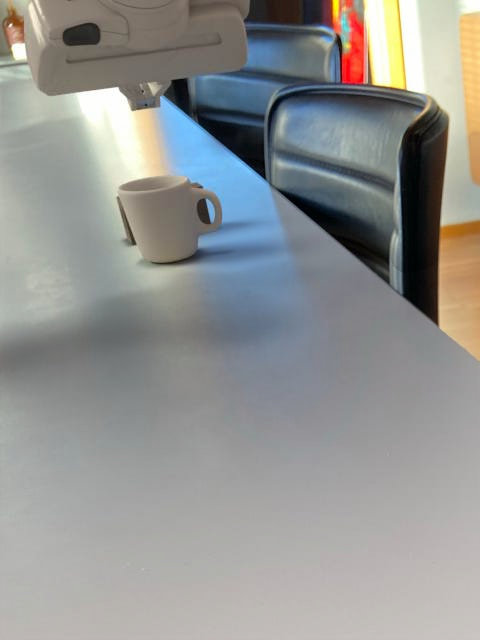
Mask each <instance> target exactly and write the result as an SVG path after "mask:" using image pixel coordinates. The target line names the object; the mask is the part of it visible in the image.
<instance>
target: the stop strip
mask: <svg viewBox="0 0 480 640" xmlns="http://www.w3.org/2000/svg"><path fill="white" fill-rule="evenodd" d="M191 186H192V187H193V188H202V189H204V186H203V185H201V184H200V183H199V182H197V181H196V182H191ZM115 198H116V202H117V205H118V209H119V213H120V217H121V220H122V224H123V228H124V232H125V235H126V240H127V241H128V242H129V243H130V244H131V245H137V244H136V241H135V238H134V236H133V233H132V230H131V228H130V225H129V222H128V220H127V217H126V214H125V211H124V209H123V206H122V203H121V201H120V198H119V195H118V196H116V197H115ZM197 213H198V217H199V219H200V220H201V221H202V222H203V223H204V224H211V223H212V221H211V217H210V213H209V208H208V202H207V199H205V198H203V199H200V200H199V201H198V203H197Z"/></svg>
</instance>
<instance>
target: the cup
mask: <svg viewBox="0 0 480 640" xmlns="http://www.w3.org/2000/svg"><path fill="white" fill-rule="evenodd" d="M191 183H192V182H191V180H190V178H189V177H187V176H184V175H177V174H176V175H175V174H170V175H168V174H167V175H156V176H149V177H144V178H139V179H135V180H130V181H127V182H125V183H122V184H121V185H119V187H117V190H116V191H117V195H118V196H119V198H120V201H121V203H122V206H123V209H124V211H125V214H126V217H127V220H128V222H129V225H130V228H131V230H132V233H133V236H134V238H135V241H136V244H135V245H136V246H137V249H138V251H139V253H140V255H141V256H142V257H143V258H144V259H145V260H146V261H149V262H152V263H160V264H161V263H162V264H163V263H173V262H178V261H182V260H185V259H187V258H188V259H189V258H190V257H192V256H193V255H194V254H195V253H196V252H197V251H198V248H199V237H200V236H203V235H209V234H212V233H215V232H216V231H218V230H219V229H220V227H221V225H222V222H223V208H222V203H221V201H220V199H219V196H218V195H217V194H216V193H214V192H213V191H212V190H210V189H207V188H203V189H202V188H193V187H192V186H191ZM203 198H205V199H206V200H208V201H209V202H210V203H211V204H212V207H213V210H214V219H213V221H212V222H211V224H204V223H203V222H202V221H201V220H200V219H199V217H198V213H197V203H198V201H199V200H200V199H203Z"/></svg>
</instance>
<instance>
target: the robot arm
mask: <svg viewBox="0 0 480 640" xmlns="http://www.w3.org/2000/svg"><path fill="white" fill-rule="evenodd" d="M250 3H251V0H31V1H30V2H29V3H28V4H27V6H26V8H25V11H24V16H23V36H24V37H23V38H24V48H25V56H26V60H27V61H26V62H27V64H28V68H29V70H30V73H31V76H32V80H33V82H34V84H35V87H36V89H37V90H39V91H40V92H41V93H42V94H44V95H45V96H48V97H55V96H64V95H70V94H76V93H84V92H91V91H100V90H106V89H113V88H118V91H119V93H121V94H122V95H123V96H124V97H125V98H126V100H127V103H128V106H129V108H130V111H131V112H136V111H142V110H149V109H150V110H151V109H157V108H161V97H162V96H163V95H164V94H165V92H166V91H167V90H168V89H169V88H170V87H171V85H172V81H174V80H180V79H188V78H189V79H190V78H195V77H203V76H210V75H218V74H225V73H233V72H238V71H241V69H242V68H244V66H245V65H246V64H247V62H248V59H249V58H248V57H249V49H248V37H247V31H246V30H247V29H246V26H245V21H244V20H245V19H247V17H248V16H249V13H250Z"/></svg>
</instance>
